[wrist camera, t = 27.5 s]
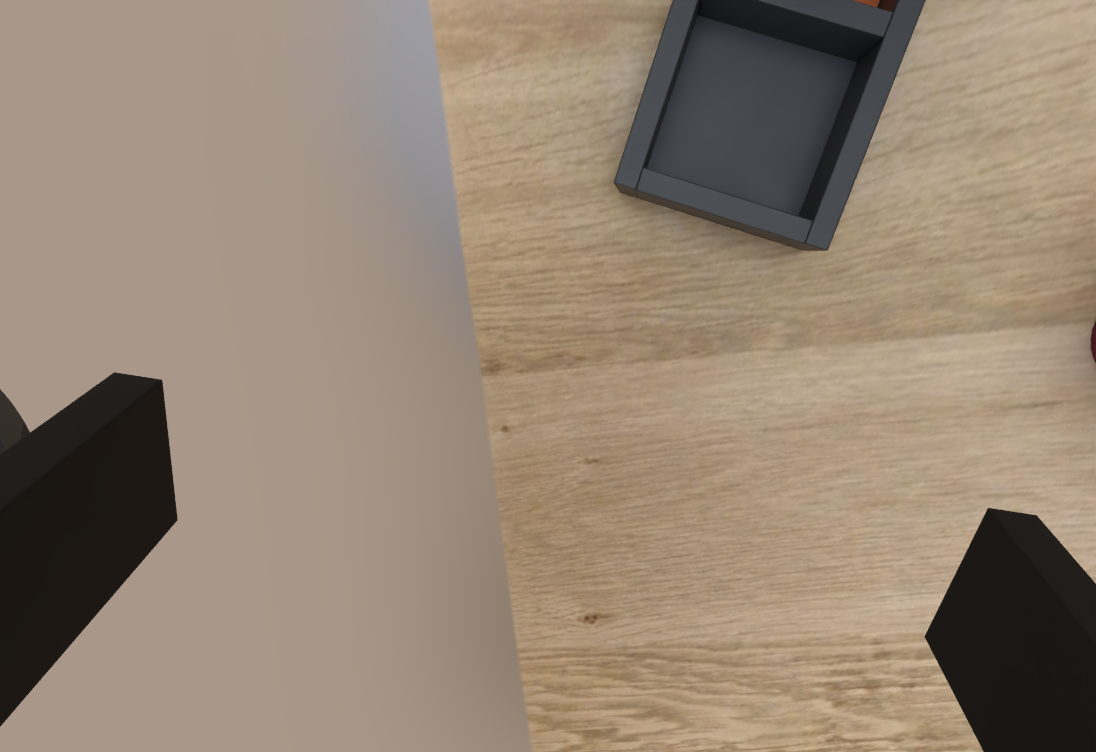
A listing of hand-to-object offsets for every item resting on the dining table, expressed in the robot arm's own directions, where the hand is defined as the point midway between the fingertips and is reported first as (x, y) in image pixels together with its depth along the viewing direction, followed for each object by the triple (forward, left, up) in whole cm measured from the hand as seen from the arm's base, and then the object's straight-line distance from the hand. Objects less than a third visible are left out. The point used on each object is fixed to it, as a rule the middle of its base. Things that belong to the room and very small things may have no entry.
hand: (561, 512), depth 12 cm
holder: (+2, +16, -26) cm, 31 cm away
